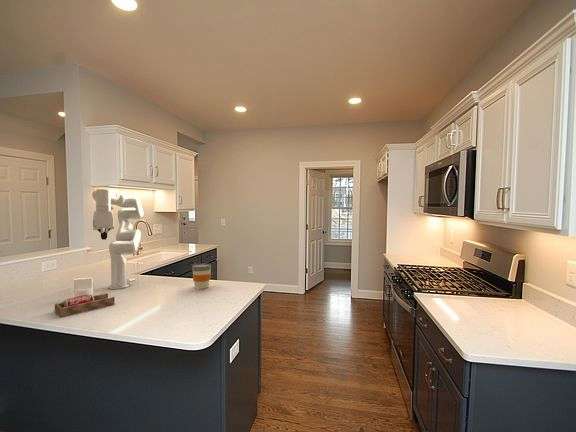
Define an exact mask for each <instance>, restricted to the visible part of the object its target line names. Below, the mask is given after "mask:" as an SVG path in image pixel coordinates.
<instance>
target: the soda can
mask: <svg viewBox="0 0 576 432" xmlns="http://www.w3.org/2000/svg"><path fill="white" fill-rule="evenodd" d="M93 296H94V294H93V295H91V294H86V295H82V296H77V297H70V298H67V299H66V300H63V302H64V307H69V306H73V305H78V304H82V303H87V302H92V301H94V297H93Z"/></svg>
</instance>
